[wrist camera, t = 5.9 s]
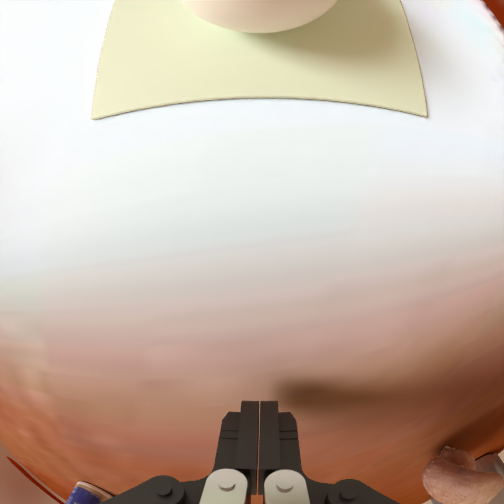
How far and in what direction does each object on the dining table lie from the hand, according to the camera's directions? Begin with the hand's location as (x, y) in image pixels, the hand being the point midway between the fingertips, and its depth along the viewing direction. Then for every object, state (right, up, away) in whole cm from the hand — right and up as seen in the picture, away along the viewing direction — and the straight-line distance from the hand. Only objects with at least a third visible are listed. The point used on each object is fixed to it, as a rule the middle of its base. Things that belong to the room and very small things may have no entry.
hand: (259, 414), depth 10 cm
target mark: (0, +19, -3) cm, 20 cm away
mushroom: (+15, -9, +3) cm, 18 cm away
